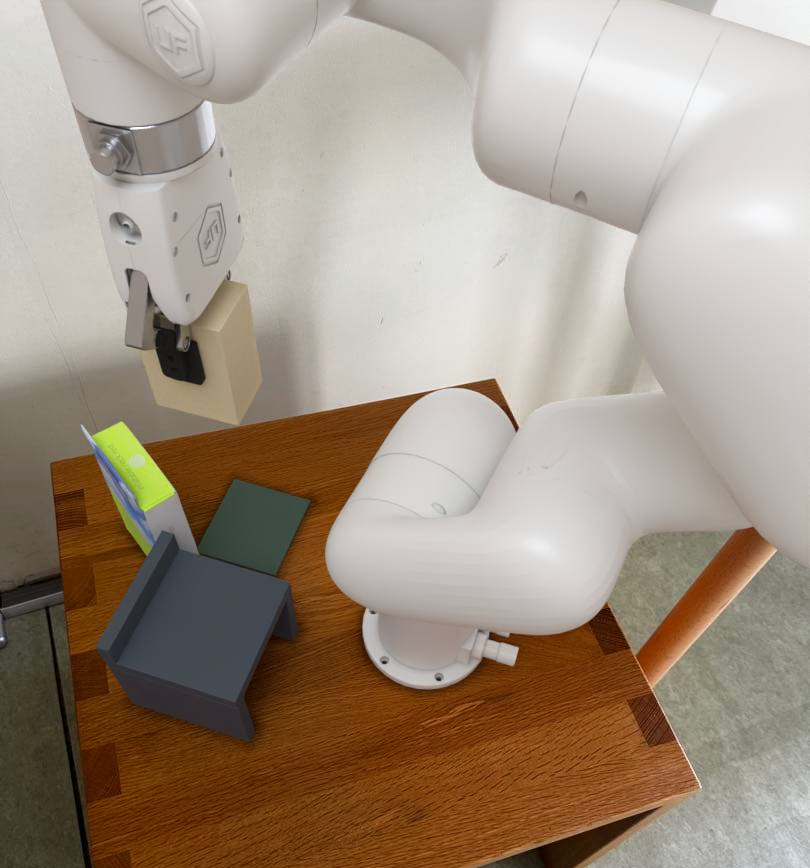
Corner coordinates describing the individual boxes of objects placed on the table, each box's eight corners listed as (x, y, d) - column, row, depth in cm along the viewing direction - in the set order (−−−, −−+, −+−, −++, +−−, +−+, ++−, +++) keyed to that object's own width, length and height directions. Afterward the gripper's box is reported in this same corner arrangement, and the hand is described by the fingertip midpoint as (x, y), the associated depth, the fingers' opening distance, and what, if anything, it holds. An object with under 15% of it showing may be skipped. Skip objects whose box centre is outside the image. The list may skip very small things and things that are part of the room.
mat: (310, 502, 91) (310, 500, 91) (275, 577, 86) (275, 575, 86) (234, 480, 93) (234, 478, 92) (195, 553, 87) (195, 551, 87)
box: (209, 577, 86) (176, 477, 71) (174, 599, 84) (132, 501, 70) (157, 510, 90) (116, 402, 75) (123, 529, 89) (74, 423, 74)
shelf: (298, 631, 83) (288, 567, 72) (250, 742, 77) (231, 690, 66) (188, 597, 85) (162, 530, 74) (132, 703, 78) (95, 647, 68)
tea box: (183, 361, 69) (157, 262, 60) (262, 381, 68) (247, 284, 59) (156, 405, 66) (125, 308, 58) (238, 426, 65) (219, 331, 57)
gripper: (139, 225, 43) (200, 447, 58) (264, 58, 52) (288, 289, 67) (8, 194, 44) (102, 421, 59) (153, 36, 53) (201, 269, 68)
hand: (200, 349), depth 63 cm, fingers closed on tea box, 5 cm apart
